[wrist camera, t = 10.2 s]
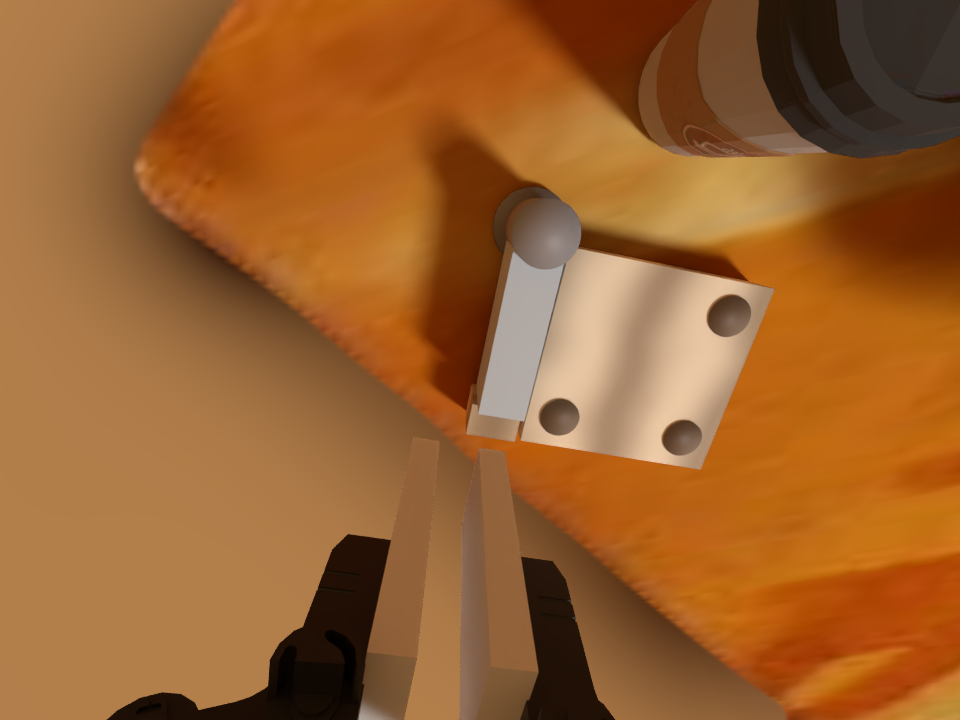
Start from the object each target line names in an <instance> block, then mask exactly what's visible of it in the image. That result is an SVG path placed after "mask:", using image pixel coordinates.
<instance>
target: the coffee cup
mask: <svg viewBox="0 0 960 720" xmlns="http://www.w3.org/2000/svg"><path fill="white" fill-rule="evenodd" d="M638 107H639V111H640V115H641V119H642V123H643V125H644V127H645V128H646V130H647V132H648V134H649V136H650V137H651V138H652V139H653V140H654V141H655V142H656V143H657V144H658V145H659V146H660V147H662V148H664V149H666V150H668V151H670V152H672V153H673V154H678V155H684V156H704V157H710V158H711V157H770V156H792V155H798V154H804V153H827V152H829V153H834V154H839V155H845V156H851V157H856V158H870V157H879V156H887V155H895V154H899V153H902V152H904V151H907V150H909V149H918V148H926V147H930V146H934V145H937V144H939V143H942V142H945V141H947V140H950V139H952V138H955V137H957V136H960V0H697V1H696V2H695V3H694V4H693V5H692V6H691V7H690V8H689V9H688V10H687V11H686V13H685V14H684V15H683V16H682V18H681V19H680V20H679V22H678V23H677V24H676V25H675V26H674V27H673V28H672V29H671V30H670V31H669V32H668V33H667V34H666V35H665V36H664V37H663V38H662V40H661V41H660V42H659V43H658V45H657V46H656V47H655V48H654V50H653V51H652V52H651V54H650V56H649V58H648V60H647V62H646V64H645V66H644V69H643V71H642V75H641V80H640V84H639V88H638Z"/></svg>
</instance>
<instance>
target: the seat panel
mask: <svg viewBox="0 0 960 720" xmlns="http://www.w3.org/2000/svg"><path fill="white" fill-rule="evenodd" d="M530 198H546V199H556V200H560V198H559V197H558V196H556V195H555V194H554V193H552V192H551V191H549V190H547V189H544V188H540V187H526V188H522V189H519V190H516V191H514V192H513V193H511V194H510V195H508V196H507V197H506V198H505V199H504V200H503V201H502V202H501V204H500V205H499V207H498V209H497V211H496V213H495V216H494V221H493V235H494V239H495V242H496V244H497V246H498V248H499V250H500V251H501V252H502V254H503V255H504V250H505V245H506V237H505V232H504V225H505V220H506V217H507V215H508V213H509V211H510V210H511V209H512V208H513V207H514V206H515V205H516V204H517V203H519V202H520V201H523V200H525V199H530ZM560 201H561V200H560ZM774 290H775V289H773V288H770V287H766V286H763V285H760V284H756V283H753V282H750V281H745V280H740V279H735V278H730V277H726V276H721V275H716V274H711V273H706V272H701V271H696V270H692V269H687V268H682V267H677V266H672V265H667V264H662V263H658V262H653V261H648V260H643V259H638V258H633V257H629V256H624V255H619V254H614V253H609V252H604V251H599V250H595V249H590V248H585V247H580V246H579V247H578V249H577V251H576V252H575V254H574V255H573V257H572V258H571V259H570V260H569V261H568V262H566V263H565V264H564V266H563V270H562V274H561V278H560V282H559V286H558V290H557V294H556V298H555V302H554V306H553V310H552V314H551V318H550V321H549V325H548V329H547V333H546V337H545V341H544V345H543V349H542V353H541V357H540V361H539V365H538V369H537V373H536V377H535V381H534V385H533V389H532V393H531V397H530V401H529V405H528V409H527V413H526V416H525V420H524V421H518V420H512V419H506V418H500V417H494V416H487V415H481V414H478V403H477V386H476V384H471V389H470V394H469V399H468V403H467V408H466V434H469V435H475V436H482V437H488V438H494V439H500V440H506V441H512V442H515V439H516V435H517V431H519V435H520V440H522V441H528V442H534V443H540V444H546V445H553V446H559V447H565V448H571V449H577V450H583V451H589V452H596V453H602V454H608V455H614V456H620V457H626V458H632V459H639V460H645V461H651V462H657V463H663V464H669V465H675V466H682V467H688V468H694V469H701V467H702V465H703V462H704V460H705V457H706V455H707V452H708V450H709V448H710V445H711V443H712V440H713V438H714V435H715V433H716V431H717V428H718V426H719V423H720V421H721V418H722V416H723V414H724V411H725V409H726V406H727V404H728V401H729V399H730V397H731V394H732V392H733V389H734V387H735V384H736V382H737V380H738V377H739V375H740V372H741V370H742V367H743V365H744V363H745V360H746V358H747V355H748V353H749V350H750V348H751V346H752V343H753V341H754V338H755V336H756V333H757V331H758V329H759V326H760V324H761V321H762V319H763V316H764V314H765V312H766V309H767V307H768V304H769V302H770V299H771V297H772V295H773V292H774Z"/></svg>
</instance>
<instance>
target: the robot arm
mask: <svg viewBox="0 0 960 720" xmlns="http://www.w3.org/2000/svg"><path fill="white" fill-rule="evenodd" d="M439 445H440V441H435V440H429V439H423V438H416V437H414V438H413V442H412V447H411V451H410V456H409V460H408V465H407V470H406V474H405V479H404V483H403V488H402V493H401V498H400V502H399V506H398V511H397V516H396V520H395V525H394V530H393V534H392V539H391V540H386V539H379V538H372V537H365V536H357V535H350V534H348V535H347V536H346V537H345V538H344V539H343V540H342V541H341V542H340V543H339V544H338V545H336V547H334V548H333V549H332V552H331V554H330V557H329V560H328V562H327V565H326V567H325V571H324V574H323V575H322V578H321V581H320V584H319V586H318V590H317V591H316V594H315V597H314V599H313V602H312V605H311V607H310V610H309V612H308V615H307V618H306V620H305V623H304V626H303V627H302V628H300V629H297V630H295V631H293V632H292V633H291V634H290V635H289V636H288V637H286V638H285V639H284V640H283V641H282V642H281V643H280V644H279V645H278V647H277V649H276V650H275V652H274V654H273V656H272V657H271V659H270V668H269V682H268V687H267V688H265V689H264V690H262V691H260V692H258V693H257V694H255V695H253V696H251V697H249V698H246V699H243V700H240V701H237V702H233V703H228V704H224V705H220V706H216V707H211V708H206V709H202V710H198V708H197V706H196V704H195V703H194V702H193V701H191V700H189V699H188V698H187V697H185V696H183V695H182V694H174V693H158V694H154V695H150V696H146V697H142V698H139V699H137V700H136V701H134V702H132V703H130V704H128V705H126V706H125V707H123V708H121V709H119V710H117V711H116V712H115V713H114V714H113V715H112V716H111V717H110V718H108V719H107V720H404V716H405V712H406V707H407V703H408V698H409V693H410V688H411V683H412V679H413V674H414V670H415V665H416V660H417V653H418V643H419V634H420V625H421V615H422V606H423V596H424V586H425V577H426V568H427V558H428V548H429V540H430V530H431V520H432V511H433V502H434V492H435V483H436V473H437V464H438V454H439ZM461 557H462V558H461V638H460V647H461V648H460V720H615V719H614V717H613V716H612V715H611V713H610V712H609V711H608V710H607V708H606V707H605V706H604V704H603V703H601V702H600V701H599V700H598V698H597V695H596V693H595V690H594V687H593V683H592V679H591V675H590V671H589V667H588V663H587V660H586V656H585V652H584V648H583V644H582V640H581V637H580V633H579V629H578V625H577V622H575V614H574V610H573V606H572V604H571V598H570V595H569V591H568V587H567V583H566V580H565V578H564V577H563V575H562V574H561V573H560V571H559V570H558V568H557V567H556V565H555V564H554V563H553V561H547V560H540V559H533V558H526V557H521V554H520V547H519V541H518V534H517V528H516V522H515V515H514V508H513V502H512V495H511V489H510V482H509V475H508V469H507V462H506V456H505V452H503V451H497V450H491V449H485V448H479V451H478V455H477V460H476V464H475V469H474V473H473V478H472V482H471V487H470V491H469V495H468V500H467V504H466V509H465V513H464V517H463V522H462V556H461Z"/></svg>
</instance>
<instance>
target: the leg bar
mask: <svg viewBox="0 0 960 720" xmlns="http://www.w3.org/2000/svg"><path fill="white" fill-rule="evenodd" d="M504 232H505V237H506V245H505V250H504V255H503V260H502V264H501V269H500V274H499V279H498V283H497V288H496V293H495V298H494V303H493V307H492V312H491V317H490V322H489V327H488V331H487V336H486V341H485V346H484V351H483V355H482V360H481V365H480V370H479V375H478V379H477V384H476V386H477V403H478V414H481V415H487V416H494V417H500V418H506V419H512V420H518V421H524V420H525V416H526V413H527V409H528V405H529V401H530V397H531V393H532V389H533V385H534V381H535V377H536V373H537V369H538V365H539V361H540V357H541V353H542V349H543V345H544V341H545V337H546V333H547V329H548V325H549V321H550V318H551V314H552V310H553V306H554V302H555V298H556V294H557V290H558V286H559V282H560V278H561V274H562V270H563V266H564V264H565V263H566V262H568V261H569V260H570V259H571V258H572V257H573V255H574V254H575V252H576V251H577V249H578V247H579V244H580V240H581V225H580V221H579V218H578V216H577V214H576V213H575V211H574V210H573V209H572V208H571V207H570V206H569V205H567V204H566V203H564V202H562V201H560V200H556V199H546V198H530V199H525V200H523V201H520V202H519V203H517V204H516V205H515V206H514V207H513V208H512V209H511V210H510V211H509V213H508V215H507V217H506V220H505V225H504Z"/></svg>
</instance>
